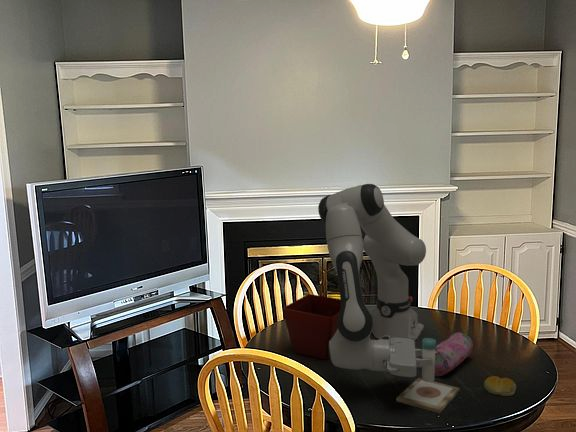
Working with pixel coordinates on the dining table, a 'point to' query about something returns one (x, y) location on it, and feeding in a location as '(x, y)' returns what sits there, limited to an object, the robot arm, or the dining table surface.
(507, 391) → the bread roll
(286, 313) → the plant pot
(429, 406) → the picture frame
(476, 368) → the dining table surface
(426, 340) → the marker
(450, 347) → the pencil case
